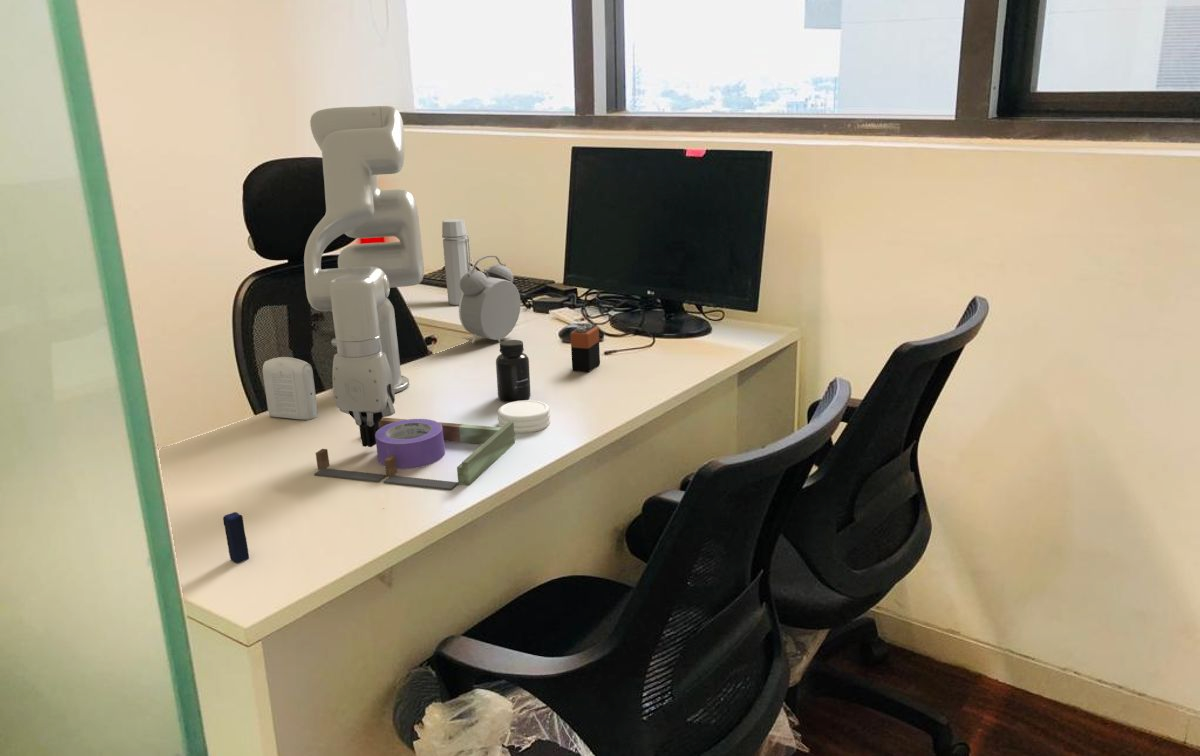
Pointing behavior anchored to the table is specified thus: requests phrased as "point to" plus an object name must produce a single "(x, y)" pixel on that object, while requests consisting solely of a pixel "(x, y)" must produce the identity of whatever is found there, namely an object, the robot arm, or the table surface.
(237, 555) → the eraser
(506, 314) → the alarm clock
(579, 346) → the battery
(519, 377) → the supplement bottle
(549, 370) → the table surface
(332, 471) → the mats
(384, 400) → the robot arm
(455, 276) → the water bottle
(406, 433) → the tape roll
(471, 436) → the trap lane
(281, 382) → the photo printer
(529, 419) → the coaster
